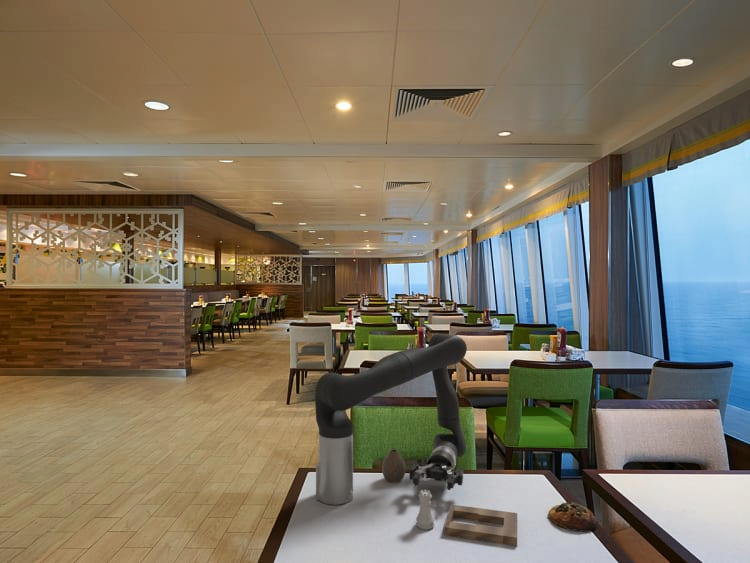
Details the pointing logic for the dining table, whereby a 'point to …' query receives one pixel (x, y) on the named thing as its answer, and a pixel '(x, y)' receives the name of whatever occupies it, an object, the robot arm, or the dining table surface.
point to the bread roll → (572, 517)
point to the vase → (393, 467)
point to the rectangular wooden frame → (480, 531)
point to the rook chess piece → (425, 511)
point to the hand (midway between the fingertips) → (432, 484)
